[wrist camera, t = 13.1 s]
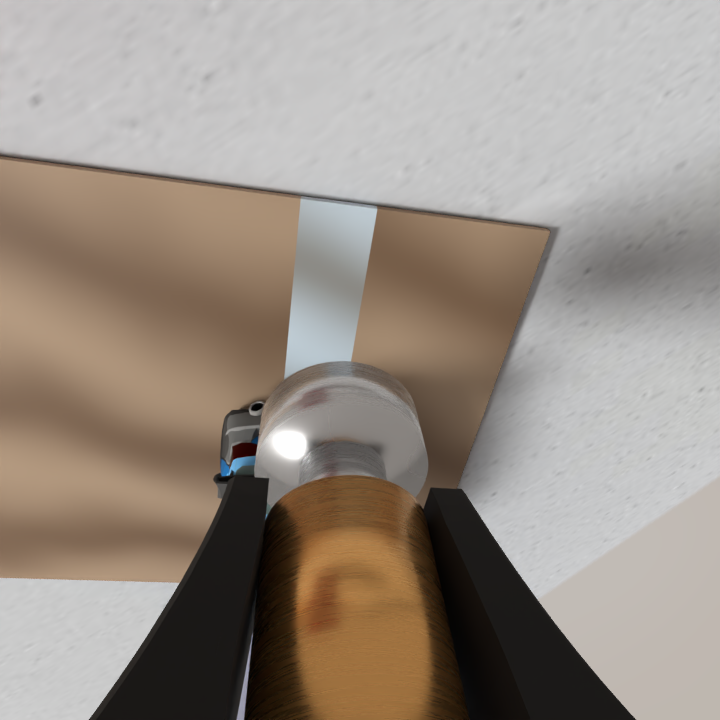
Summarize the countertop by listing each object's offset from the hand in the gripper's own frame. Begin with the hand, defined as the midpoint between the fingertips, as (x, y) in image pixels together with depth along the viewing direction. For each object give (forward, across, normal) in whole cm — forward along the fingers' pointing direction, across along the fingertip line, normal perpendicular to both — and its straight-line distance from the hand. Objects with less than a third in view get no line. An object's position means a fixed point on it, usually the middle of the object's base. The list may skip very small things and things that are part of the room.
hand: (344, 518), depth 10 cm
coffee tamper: (+3, 0, 0) cm, 3 cm away
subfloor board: (+10, +5, +7) cm, 13 cm away
